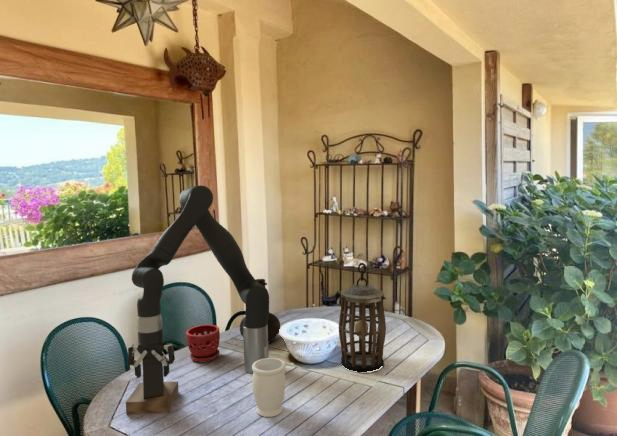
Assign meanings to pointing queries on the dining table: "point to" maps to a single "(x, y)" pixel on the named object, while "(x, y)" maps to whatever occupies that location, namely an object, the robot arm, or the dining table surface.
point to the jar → (268, 386)
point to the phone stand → (152, 378)
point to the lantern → (362, 326)
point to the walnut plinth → (152, 400)
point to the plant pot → (203, 342)
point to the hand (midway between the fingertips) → (152, 376)
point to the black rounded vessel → (272, 320)
